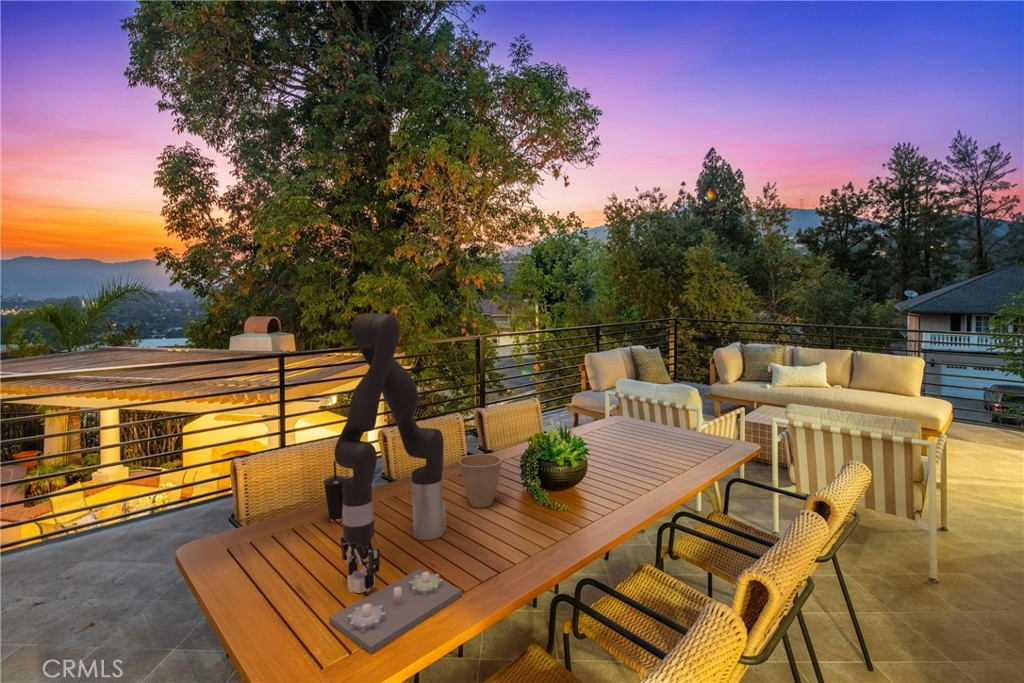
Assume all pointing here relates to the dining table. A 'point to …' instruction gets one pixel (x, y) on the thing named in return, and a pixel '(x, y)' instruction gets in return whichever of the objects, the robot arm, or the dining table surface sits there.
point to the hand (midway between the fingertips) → (361, 582)
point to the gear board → (394, 609)
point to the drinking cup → (334, 494)
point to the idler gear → (357, 582)
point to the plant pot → (480, 478)
